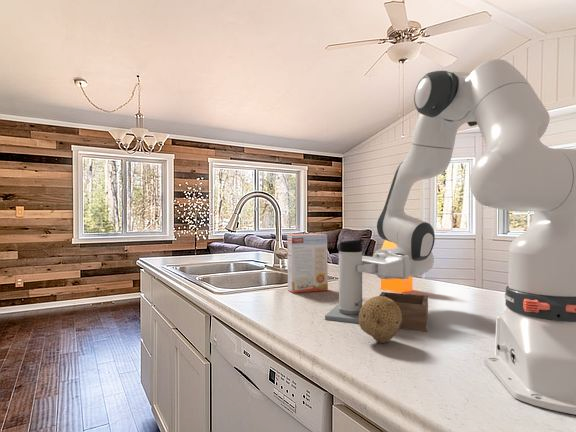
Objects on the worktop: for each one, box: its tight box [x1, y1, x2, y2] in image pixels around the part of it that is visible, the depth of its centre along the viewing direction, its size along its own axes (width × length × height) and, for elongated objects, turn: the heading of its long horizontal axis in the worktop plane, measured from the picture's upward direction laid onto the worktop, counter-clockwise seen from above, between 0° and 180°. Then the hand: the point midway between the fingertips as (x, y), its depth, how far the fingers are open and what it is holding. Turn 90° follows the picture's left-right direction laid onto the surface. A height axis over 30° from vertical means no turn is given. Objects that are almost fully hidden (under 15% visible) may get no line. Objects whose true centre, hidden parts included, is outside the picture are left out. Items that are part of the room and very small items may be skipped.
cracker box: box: [286, 233, 329, 294], centre depth 131 cm, size 14×6×21 cm, turn 108°
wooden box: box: [378, 291, 429, 332], centre depth 92 cm, size 12×12×6 cm
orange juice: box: [380, 240, 414, 294], centre depth 133 cm, size 8×9×20 cm
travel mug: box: [338, 238, 364, 315], centre depth 97 cm, size 6×7×20 cm
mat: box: [324, 304, 359, 324], centre depth 97 cm, size 12×11×1 cm
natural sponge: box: [358, 295, 402, 344], centre depth 76 cm, size 9×9×10 cm
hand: (348, 266), depth 97 cm, fingers closed on travel mug, 6 cm apart
